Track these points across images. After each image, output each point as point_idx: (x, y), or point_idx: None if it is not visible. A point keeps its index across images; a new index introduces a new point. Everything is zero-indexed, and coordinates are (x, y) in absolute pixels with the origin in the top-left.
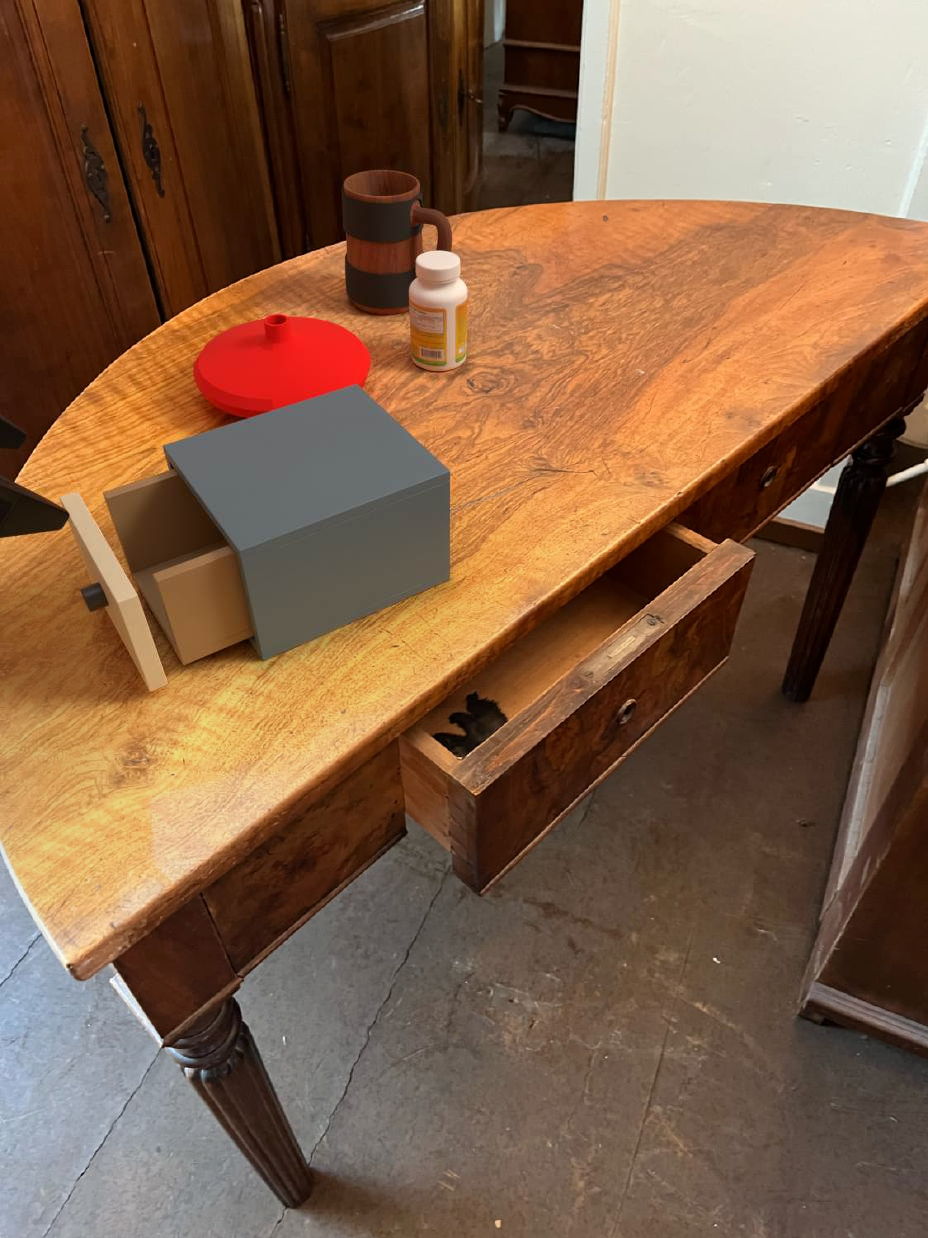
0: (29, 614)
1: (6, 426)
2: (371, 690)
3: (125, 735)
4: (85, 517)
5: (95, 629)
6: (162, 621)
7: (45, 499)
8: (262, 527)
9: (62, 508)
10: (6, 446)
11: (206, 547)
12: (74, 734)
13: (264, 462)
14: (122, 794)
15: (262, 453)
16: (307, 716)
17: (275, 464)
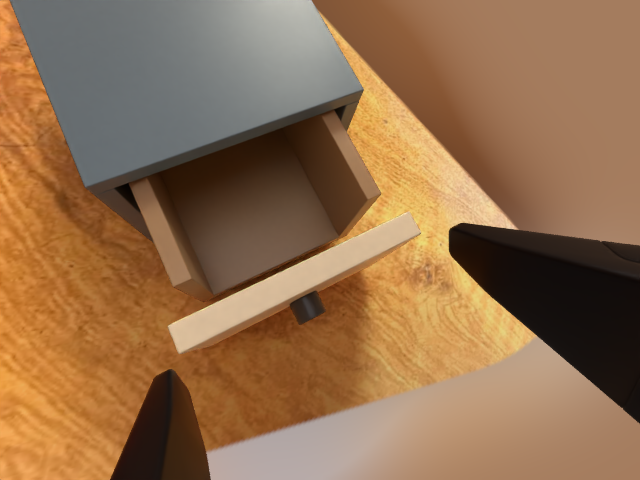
0: (231, 421)
1: (175, 410)
2: (365, 100)
3: (402, 287)
4: (244, 299)
5: (266, 338)
6: (297, 253)
7: (501, 237)
8: (321, 62)
9: (468, 227)
10: (194, 416)
11: (180, 215)
12: (400, 332)
13: (174, 49)
14: (458, 281)
15: (149, 49)
16: (388, 146)
17: (183, 36)
